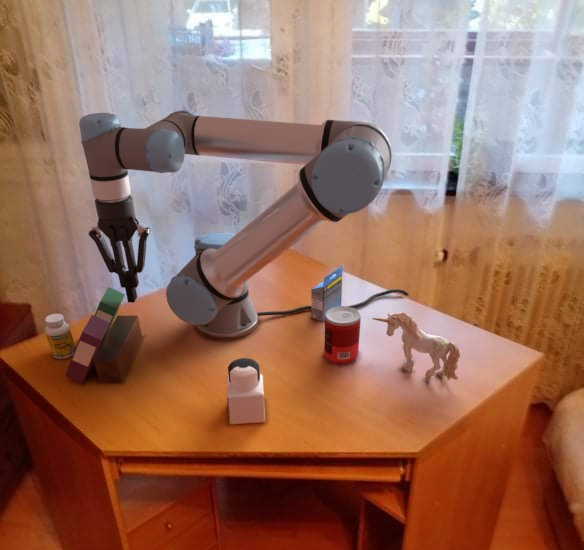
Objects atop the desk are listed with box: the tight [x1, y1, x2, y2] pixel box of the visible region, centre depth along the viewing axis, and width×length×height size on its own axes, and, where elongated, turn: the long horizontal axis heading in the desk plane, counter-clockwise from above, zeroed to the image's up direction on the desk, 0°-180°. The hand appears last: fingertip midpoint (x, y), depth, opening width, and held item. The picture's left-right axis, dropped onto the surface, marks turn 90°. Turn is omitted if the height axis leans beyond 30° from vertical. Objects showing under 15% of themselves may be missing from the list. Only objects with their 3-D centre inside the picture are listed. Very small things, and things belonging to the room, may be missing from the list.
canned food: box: [323, 305, 362, 366], centre depth 134 cm, size 8×8×11 cm
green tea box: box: [94, 286, 126, 351], centre depth 138 cm, size 4×7×13 cm, turn 1°
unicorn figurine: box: [371, 311, 461, 381], centre depth 128 cm, size 7×20×13 cm, turn 68°
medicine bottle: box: [226, 357, 266, 425], centre depth 117 cm, size 7×7×12 cm
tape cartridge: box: [310, 264, 344, 322], centre depth 149 cm, size 9×4×12 cm, turn 144°
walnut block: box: [93, 315, 143, 384], centre depth 135 cm, size 5×19×6 cm, turn 178°
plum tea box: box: [64, 314, 110, 384], centre depth 128 cm, size 4×7×13 cm, turn 1°
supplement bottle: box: [44, 313, 76, 360], centre depth 136 cm, size 5×5×10 cm
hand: (132, 299), depth 135 cm, fingers closed
